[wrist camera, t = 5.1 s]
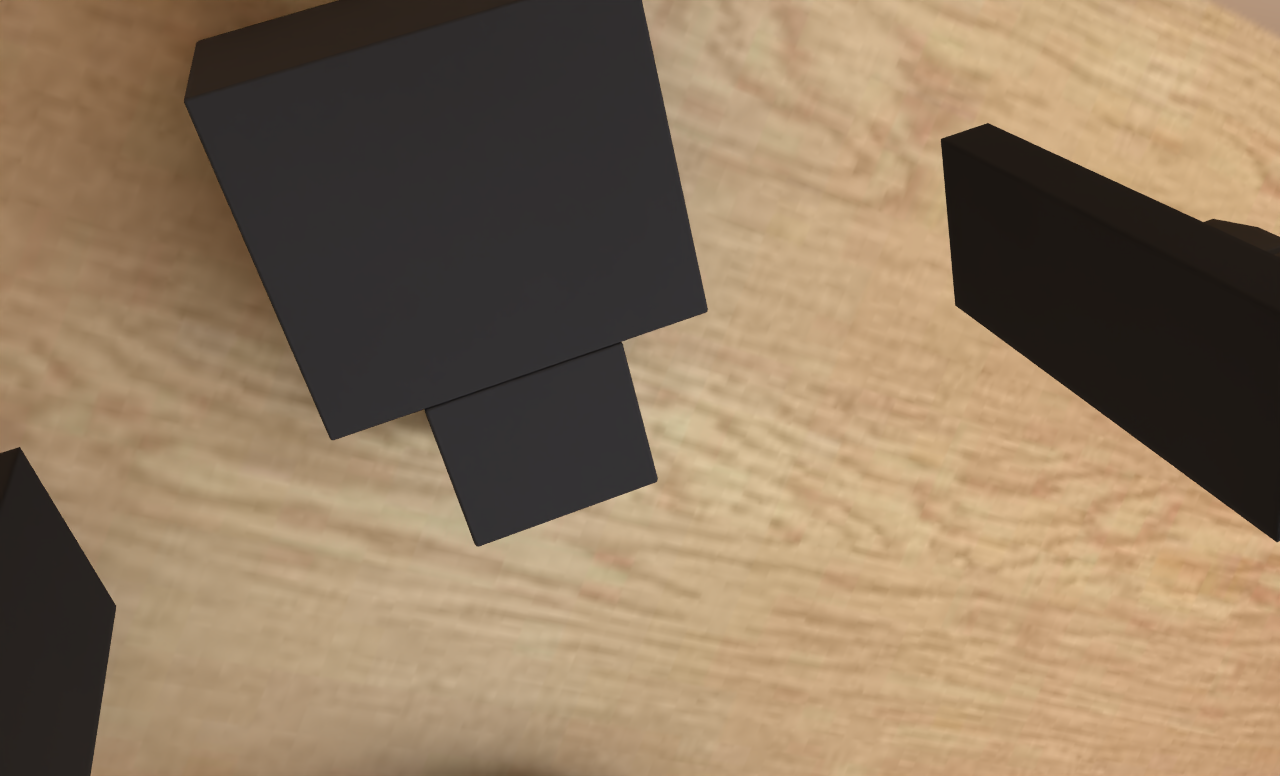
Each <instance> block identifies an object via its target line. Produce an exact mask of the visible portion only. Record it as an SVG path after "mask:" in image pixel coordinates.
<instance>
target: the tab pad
mask: <svg viewBox="0 0 1280 776" xmlns="http://www.w3.org/2000/svg"><path fill="white" fill-rule="evenodd" d="M184 103H185V106H186V108H187V110H188V113H189V115H190V117H191V119H192V122H193V124H194V126H195V129H196V131H197V133H198V136H199V138H200V140H201V143H202V145H203V147H204V149H205V152H206V154H207V156H208V159H209V161H210V163H211V166H212V168H213V170H214V172H215V175H216V177H217V179H218V182H219V184H220V186H221V189H222V191H223V193H224V196H225V198H226V200H227V202H228V205H229V207H230V209H231V212H232V214H233V216H234V219H235V221H236V223H237V225H238V228H239V230H240V232H241V235H242V237H243V239H244V242H245V244H246V246H247V248H248V251H249V253H250V255H251V258H252V260H253V262H254V265H255V267H256V269H257V272H258V274H259V276H260V278H261V281H262V283H263V285H264V288H265V290H266V292H267V295H268V297H269V299H270V301H271V304H272V306H273V308H274V311H275V313H276V315H277V318H278V320H279V322H280V325H281V327H282V329H283V331H284V334H285V336H286V338H287V341H288V343H289V345H290V348H291V350H292V352H293V354H294V357H295V359H296V361H297V364H298V366H299V368H300V371H301V373H302V375H303V378H304V380H305V382H306V384H307V387H308V389H309V391H310V394H311V396H312V398H313V401H314V403H315V405H316V407H317V410H318V412H319V414H320V417H321V419H322V421H323V424H324V426H325V428H326V430H327V433H328V435H329V437H330V439H331V440H336V439H339V438H342V437H344V436H347V435H350V434H353V433H356V432H359V431H362V430H365V429H368V428H371V427H374V426H377V425H379V424H382V423H385V422H388V421H391V420H394V419H397V418H400V417H403V416H406V415H409V414H411V413H414V412H417V411H420V410H423V409H424V410H425V413H426V416H427V419H428V421H429V424H430V426H431V429H432V432H433V434H434V437H435V440H436V442H437V445H438V448H439V450H440V453H441V456H442V458H443V461H444V464H445V466H446V469H447V472H448V474H449V477H450V480H451V482H452V485H453V488H454V490H455V493H456V495H457V498H458V501H459V503H460V506H461V509H462V511H463V514H464V517H465V519H466V522H467V525H468V527H469V530H470V533H471V535H472V538H473V541H474V543H475V545H476V546H482V545H484V544H487V543H490V542H493V541H495V540H498V539H501V538H504V537H506V536H509V535H512V534H515V533H517V532H520V531H523V530H526V529H528V528H531V527H534V526H537V525H539V524H542V523H545V522H548V521H550V520H553V519H556V518H559V517H561V516H564V515H567V514H570V513H572V512H575V511H578V510H581V509H584V508H586V507H589V506H592V505H595V504H597V503H600V502H603V501H606V500H608V499H611V498H614V497H617V496H619V495H622V494H625V493H628V492H630V491H633V490H636V489H639V488H641V487H644V486H647V485H650V484H652V483H655V482H657V480H658V478H657V474H656V470H655V466H654V462H653V459H652V455H651V451H650V447H649V443H648V439H647V436H646V432H645V428H644V424H643V420H642V416H641V413H640V409H639V405H638V401H637V397H636V393H635V390H634V386H633V382H632V378H631V374H630V371H629V367H628V363H627V359H626V355H625V351H624V348H623V344H622V342H621V341H624V340H627V339H630V338H633V337H636V336H639V335H642V334H645V333H648V332H651V331H653V330H656V329H659V328H662V327H665V326H668V325H671V324H674V323H677V322H680V321H683V320H686V319H688V318H691V317H694V316H697V315H700V314H703V313H706V312H707V310H708V308H707V304H706V299H705V294H704V289H703V285H702V280H701V275H700V271H699V266H698V261H697V257H696V252H695V247H694V243H693V238H692V233H691V229H690V224H689V219H688V215H687V210H686V205H685V200H684V196H683V191H682V186H681V182H680V177H679V172H678V168H677V163H676V158H675V154H674V149H673V144H672V140H671V135H670V130H669V126H668V121H667V116H666V111H665V107H664V102H663V97H662V93H661V88H660V83H659V79H658V74H657V69H656V65H655V60H654V55H653V51H652V46H651V41H650V37H649V32H648V27H647V23H646V18H645V13H644V8H643V4H642V0H339V1H335V2H332V3H328V4H325V5H321V6H318V7H314V8H311V9H307V10H304V11H300V12H297V13H294V14H290V15H287V16H283V17H280V18H276V19H273V20H269V21H266V22H262V23H259V24H255V25H252V26H249V27H245V28H242V29H238V30H235V31H231V32H228V33H224V34H221V35H217V36H214V37H210V38H207V39H203V40H200V41H198V42H197V43H196V47H195V52H194V56H193V61H192V66H191V70H190V75H189V79H188V84H187V89H186V93H185V98H184Z"/></svg>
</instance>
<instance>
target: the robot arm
mask: <svg viewBox="0 0 1280 776" xmlns="http://www.w3.org/2000/svg"><path fill="white" fill-rule="evenodd" d="M941 147H942V158H943V170H944V181H945V193H946V204H947V215H948V227H949V238H950V250H951V261H952V273H953V284H954V296H955V305H956V306H957V307H958V308H960V309H961V310H962V311H964V312H965V313H966V314H968V315H969V316H971V317H972V318H973V319H975V320H976V321H977V322H979V323H980V324H981V325H983V326H984V327H985V328H987V329H988V330H990V331H991V332H992V333H994V334H995V335H996V336H998V337H999V338H1000V339H1002V340H1003V341H1004V342H1006V343H1007V344H1008V345H1010V346H1011V347H1013V348H1014V349H1015V350H1017V351H1018V352H1019V353H1021V354H1022V355H1023V356H1025V357H1026V358H1027V359H1029V360H1030V361H1032V362H1033V363H1034V364H1036V365H1037V366H1038V367H1040V368H1041V369H1042V370H1044V371H1045V372H1046V373H1048V374H1049V375H1051V376H1052V377H1053V378H1055V379H1056V380H1057V381H1059V382H1060V383H1061V384H1063V385H1064V386H1065V387H1067V388H1068V389H1070V390H1071V391H1072V392H1074V393H1075V394H1076V395H1078V396H1079V397H1080V398H1082V399H1083V400H1084V401H1086V402H1087V403H1089V404H1090V405H1091V406H1093V407H1094V408H1095V409H1097V410H1098V411H1099V412H1101V413H1102V414H1103V415H1105V416H1106V417H1108V418H1109V419H1110V420H1112V421H1113V422H1114V423H1116V424H1117V425H1118V426H1120V427H1121V428H1122V429H1124V430H1125V431H1127V432H1128V433H1129V434H1131V435H1132V436H1133V437H1135V438H1136V439H1137V440H1139V441H1140V442H1141V443H1143V444H1144V445H1146V446H1147V447H1148V448H1150V449H1151V450H1152V451H1154V452H1155V453H1156V454H1158V455H1159V456H1160V457H1162V458H1163V459H1165V460H1166V461H1167V462H1169V463H1170V464H1171V465H1173V466H1174V467H1175V468H1177V469H1178V470H1179V471H1181V472H1182V473H1184V474H1185V475H1186V476H1188V477H1189V478H1190V479H1192V480H1193V481H1194V482H1196V483H1197V484H1198V485H1200V486H1201V487H1203V488H1204V489H1205V490H1207V491H1208V492H1209V493H1211V494H1212V495H1213V496H1215V497H1216V498H1217V499H1219V500H1220V501H1222V502H1223V503H1224V504H1226V505H1227V506H1228V507H1230V508H1231V509H1232V510H1234V511H1235V512H1236V513H1238V514H1239V515H1241V516H1242V517H1243V518H1245V519H1246V520H1247V521H1249V522H1250V523H1251V524H1253V525H1254V526H1255V527H1257V528H1258V529H1259V530H1261V531H1262V532H1264V533H1265V534H1266V535H1268V536H1269V537H1270V538H1272V539H1273V540H1274V541H1276V542H1279V541H1280V237H1279V236H1276V235H1274V234H1272V233H1270V232H1267V231H1265V230H1263V229H1261V228H1258V227H1254V226H1248V225H1243V224H1238V223H1232V222H1227V221H1222V220H1216V219H1211V220H1208V221H1206V222H1202V221H1199V220H1197V219H1195V218H1193V217H1191V216H1189V215H1186V214H1184V213H1182V212H1180V211H1178V210H1176V209H1173V208H1171V207H1169V206H1167V205H1165V204H1162V203H1160V202H1158V201H1156V200H1154V199H1152V198H1149V197H1147V196H1145V195H1143V194H1141V193H1139V192H1136V191H1134V190H1132V189H1130V188H1128V187H1126V186H1123V185H1121V184H1119V183H1117V182H1115V181H1113V180H1110V179H1108V178H1106V177H1104V176H1102V175H1099V174H1097V173H1095V172H1093V171H1091V170H1089V169H1086V168H1084V167H1082V166H1080V165H1078V164H1076V163H1073V162H1071V161H1069V160H1067V159H1065V158H1063V157H1060V156H1058V155H1056V154H1054V153H1052V152H1050V151H1047V150H1045V149H1043V148H1041V147H1039V146H1036V145H1034V144H1032V143H1030V142H1028V141H1026V140H1023V139H1021V138H1019V137H1017V136H1015V135H1013V134H1010V133H1008V132H1006V131H1004V130H1002V129H1000V128H997V127H995V126H993V125H991V124H989V123H987V124H984V125H981V126H978V127H975V128H972V129H969V130H966V131H963V132H960V133H957V134H954V135H951V136H948V137H945V138H942V139H941ZM115 611H116V605H115V603H114V602H113V600H112V598H111V597H110V595H109V593H108V592H107V590H106V588H105V587H104V585H103V584H102V582H101V580H100V579H99V577H98V575H97V574H96V572H95V570H94V569H93V567H92V565H91V564H90V562H89V560H88V559H87V557H86V555H85V554H84V552H83V551H82V549H81V547H80V546H79V544H78V542H77V541H76V539H75V537H74V536H73V534H72V532H71V531H70V529H69V527H68V526H67V524H66V522H65V521H64V519H63V518H62V516H61V514H60V513H59V511H58V509H57V508H56V506H55V504H54V503H53V501H52V499H51V498H50V496H49V494H48V493H47V491H46V489H45V488H44V486H43V485H42V483H41V481H40V480H39V478H38V476H37V475H36V473H35V471H34V470H33V468H32V466H31V465H30V463H29V461H28V460H27V458H26V456H25V455H24V453H23V451H22V450H21V448H20V447H18V448H15V449H12V450H9V451H6V452H3V453H0V776H90V774H91V768H92V761H93V755H94V748H95V742H96V735H97V729H98V722H99V716H100V709H101V703H102V696H103V690H104V683H105V676H106V670H107V663H108V657H109V650H110V644H111V637H112V631H113V624H114V618H115Z"/></svg>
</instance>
